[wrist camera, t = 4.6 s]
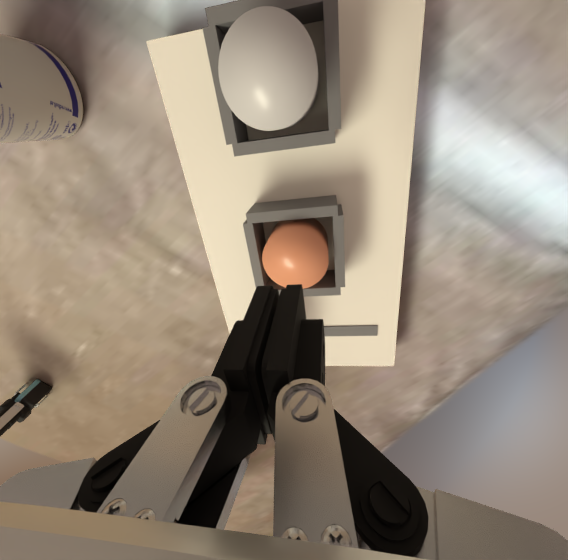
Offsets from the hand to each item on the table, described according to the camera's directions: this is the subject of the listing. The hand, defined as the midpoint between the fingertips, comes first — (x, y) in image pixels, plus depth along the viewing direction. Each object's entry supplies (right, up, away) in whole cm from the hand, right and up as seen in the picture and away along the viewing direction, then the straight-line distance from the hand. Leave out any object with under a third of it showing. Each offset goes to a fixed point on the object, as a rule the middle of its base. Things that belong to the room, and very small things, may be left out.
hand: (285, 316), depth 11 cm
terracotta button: (+1, +4, +9) cm, 10 cm away
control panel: (+1, +5, +10) cm, 12 cm away
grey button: (0, +11, +3) cm, 12 cm away
